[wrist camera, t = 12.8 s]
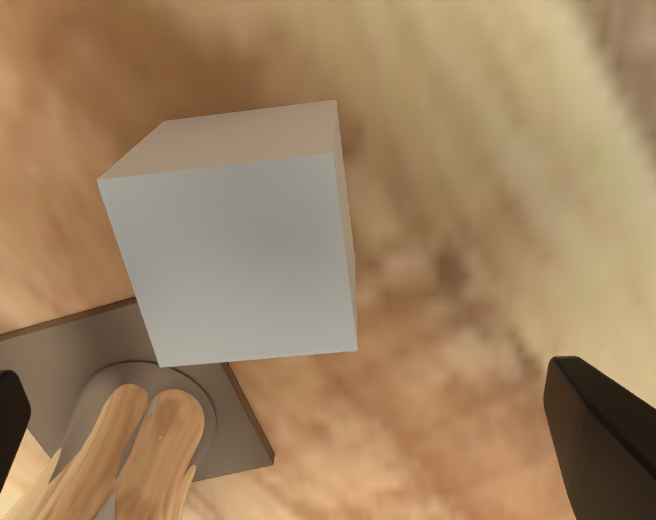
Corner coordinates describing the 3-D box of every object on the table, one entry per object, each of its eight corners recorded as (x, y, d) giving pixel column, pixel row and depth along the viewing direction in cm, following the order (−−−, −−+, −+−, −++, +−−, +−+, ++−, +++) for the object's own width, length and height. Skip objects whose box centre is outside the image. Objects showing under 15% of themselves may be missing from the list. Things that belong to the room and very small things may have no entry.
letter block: (355, 261, 22) (358, 357, 16) (205, 275, 22) (162, 374, 17) (336, 99, 19) (332, 152, 13) (164, 120, 19) (96, 180, 14)
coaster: (186, 283, 22) (182, 290, 22) (274, 454, 27) (273, 464, 26) (-25, 342, 24) (-34, 350, 23) (91, 494, 28) (86, 504, 28)
